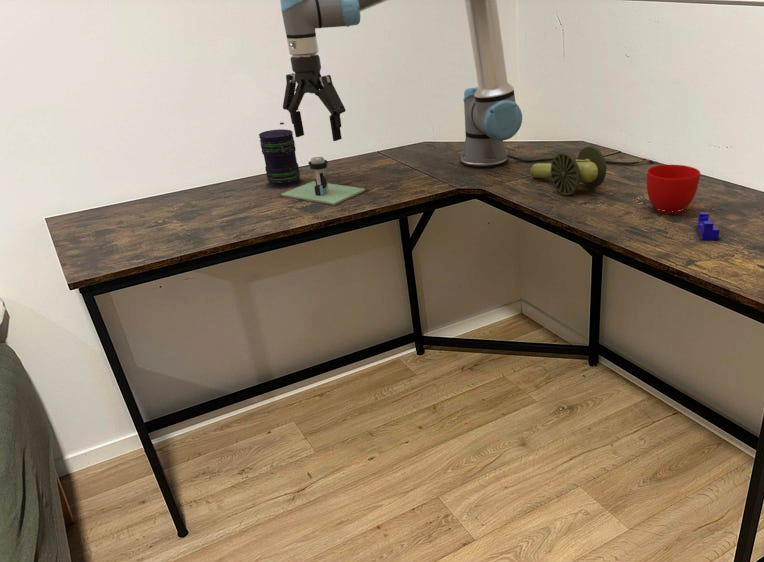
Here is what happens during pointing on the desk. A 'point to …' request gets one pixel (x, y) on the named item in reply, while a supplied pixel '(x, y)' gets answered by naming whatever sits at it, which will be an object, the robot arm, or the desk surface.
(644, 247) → the desk surface
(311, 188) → the desk mat
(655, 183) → the ceramic cup
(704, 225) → the blue stepped block
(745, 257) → the desk surface
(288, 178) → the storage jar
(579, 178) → the cannon
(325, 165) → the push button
